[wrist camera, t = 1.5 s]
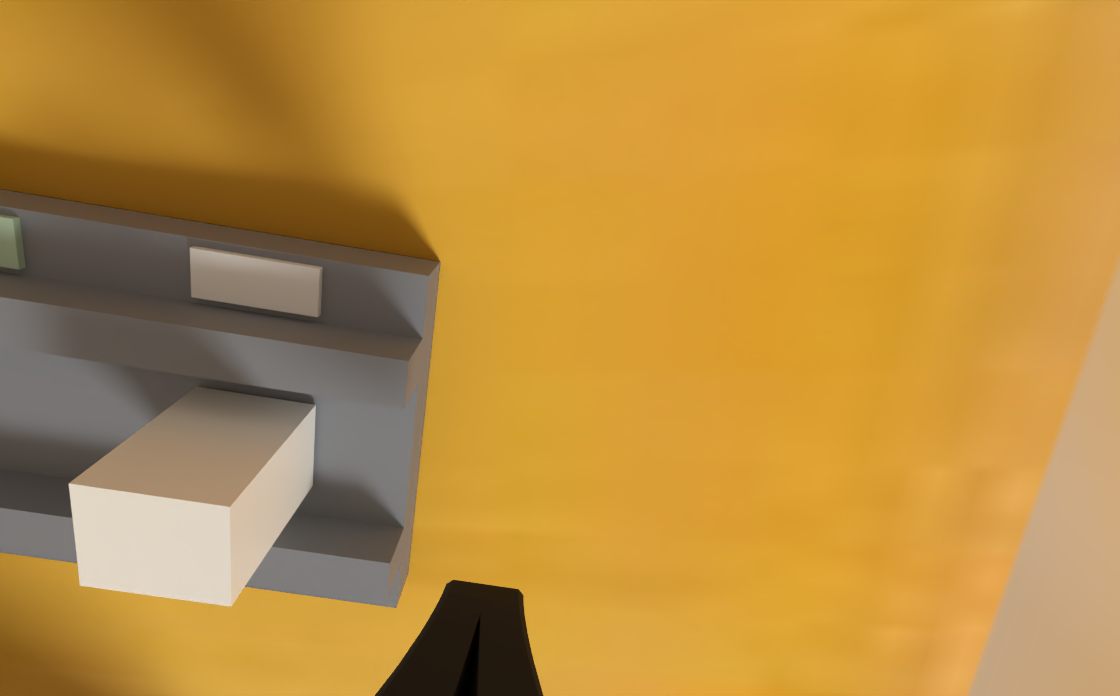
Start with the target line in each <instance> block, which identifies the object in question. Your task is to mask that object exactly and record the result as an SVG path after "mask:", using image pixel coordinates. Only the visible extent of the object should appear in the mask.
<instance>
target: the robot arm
mask: <svg viewBox="0 0 1120 696" xmlns="http://www.w3.org/2000/svg"><path fill="white" fill-rule="evenodd" d="M375 696H543V693H542V690H541V686H540V682H539V679H538V675H537V672H536V668H535V665H534V661H533V657H532V653H531V648H530V643H529V638H528V634H527V628H526V622H525V615H524V605H523V594H522V593H521V592H520V591H519V589H513V588H506V587H499V586H492V585H485V584H478V583H471V582H464V581H457V580H452V581H451V582H449V583H447V584H446V587H445V589H444V592H443V594H442V596H441V598H440V600H439V602H438V604H437V606H436V608H435V609H434V611H433V613H432V615H431V616H430V618H429V620H428V621H427V623H426V625H425V626H424V628H423V629H422V631H421V633H420V634H419V636H418V637H417V639H416V640H415V642H414V643H413V644H412V646H411V647H410V649H409V650H408V652H407V653H406V655H405V656H404V658H403V659H402V661H401V662H400V663H399V665H398V666H397V668H396V669H395V670H394V672H393V673H392V674H391V676H390V677H389V678H388V679H387V681H386V682H385V683H384V684H383V686H382V687H381V688H380V690H379V691H378V692H377V693H376V695H375Z"/></svg>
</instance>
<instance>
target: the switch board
mask: <svg viewBox="0 0 1120 696" xmlns="http://www.w3.org/2000/svg"><path fill="white" fill-rule="evenodd" d="M439 271H440V262H439V261H433V260H426V259H420V258H414V257H408V256H402V255H396V254H390V253H384V252H378V251H372V250H366V249H360V248H354V247H348V246H341V245H335V244H329V243H323V242H317V241H311V240H305V239H299V238H293V237H287V236H281V235H275V234H269V233H263V232H257V231H250V230H244V229H238V228H232V227H226V226H220V225H214V224H208V223H202V222H196V221H190V220H184V219H178V218H172V217H165V216H159V215H153V214H147V213H141V212H135V211H129V210H123V209H117V208H111V207H105V206H99V205H93V204H87V203H80V202H74V201H68V200H62V199H56V198H50V197H44V196H38V195H32V194H26V193H20V192H14V191H8V190H2V189H0V552H2V553H9V554H16V555H23V556H30V557H37V558H44V559H51V560H59V561H66V562H73V563H77V554H76V545H75V536H74V527H73V518H72V509H71V500H70V492H69V483H70V482H71V481H73V480H74V479H75V478H76V477H78V476H79V475H80V474H82V473H83V472H84V471H86V470H87V469H88V468H90V467H91V466H92V465H94V464H95V463H96V462H98V461H99V460H100V459H102V458H103V457H104V456H105V455H107V454H108V453H109V452H111V451H112V450H113V449H115V448H116V447H117V446H119V445H120V444H121V443H123V442H124V441H125V440H127V439H128V438H129V437H131V436H132V435H133V434H135V433H136V432H137V431H138V430H140V429H141V428H142V427H144V426H145V425H146V424H148V423H149V422H150V421H152V420H153V419H154V418H156V417H157V416H158V415H160V414H161V413H162V412H164V411H165V410H166V409H167V408H169V407H170V406H171V405H173V404H174V403H175V402H177V401H178V400H179V399H181V398H182V397H183V396H185V395H186V394H187V393H189V392H190V391H191V390H193V389H194V388H195V387H202V388H209V389H215V390H222V391H228V392H235V393H242V394H248V395H255V396H261V397H268V398H274V399H281V400H287V401H294V402H300V403H307V404H313V405H316V415H315V440H314V466H313V486H312V487H311V489H310V490H309V492H308V493H307V495H306V496H305V498H304V499H303V501H302V502H301V504H300V505H299V507H298V508H297V510H296V511H295V512H294V514H293V515H292V517H291V518H290V520H289V521H288V523H287V524H286V526H285V527H284V529H283V530H282V532H281V533H280V535H279V536H278V538H277V539H276V541H275V542H274V544H273V545H272V547H271V548H270V550H269V551H268V553H267V554H266V556H265V557H264V559H263V560H262V562H261V563H260V565H259V566H258V568H257V569H256V571H255V572H254V573H253V575H252V576H251V578H250V579H249V581H248V582H247V584H246V585H245V587H251V588H258V589H265V590H272V591H279V592H286V593H294V594H301V595H308V596H315V597H322V598H329V599H336V600H343V601H351V602H358V603H365V604H372V605H379V606H386V607H393V608H396V607H397V604H398V601H399V598H400V595H401V592H402V590H403V587H404V584H405V581H406V578H407V575H408V570H409V560H410V550H411V541H412V531H413V521H414V512H415V502H416V492H417V483H418V473H419V464H420V454H421V444H422V435H423V425H424V415H425V406H426V396H427V386H428V377H429V367H430V358H431V348H432V338H433V329H434V319H435V309H436V300H437V290H438V280H439Z"/></svg>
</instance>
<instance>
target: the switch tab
mask: <svg viewBox="0 0 1120 696" xmlns="http://www.w3.org/2000/svg"><path fill="white" fill-rule="evenodd" d="M315 415H316V405H313V404H307V403H300V402H294V401H287V400H281V399H274V398H268V397H261V396H255V395H248V394H242V393H235V392H228V391H222V390H215V389H209V388H202V387H195V388H194V389H193V390H191V391H190V392H189V393H187V394H186V395H185V396H183V397H182V398H181V399H179V400H178V401H177V402H175V403H174V404H173V405H171V406H170V407H169V408H167V409H166V410H165V411H164V412H162V413H161V414H160V415H158V416H157V417H156V418H154V419H153V420H152V421H150V422H149V423H148V424H146V425H145V426H144V427H142V428H141V429H140V430H138V431H137V432H136V433H135V434H133V435H132V436H131V437H129V438H128V439H127V440H125V441H124V442H123V443H121V444H120V445H119V446H117V447H116V448H115V449H113V450H112V451H111V452H109V453H108V454H107V455H105V456H104V457H103V458H102V459H100V460H99V461H98V462H96V463H95V464H94V465H92V466H91V467H90V468H88V469H87V470H86V471H84V472H83V473H82V474H80V475H79V476H78V477H76V478H75V479H74V480H73V481H71V482H70V483H69V492H70V500H71V509H72V518H73V527H74V536H75V545H76V554H77V563H78V572H79V581H80V586H86V587H94V588H101V589H108V590H115V591H122V592H130V593H137V594H144V595H151V596H158V597H166V598H173V599H180V600H187V601H194V602H202V603H209V604H216V605H223V606H230V607H231V606H232V605H233V603H234V602H235V600H236V599H237V597H238V596H239V594H240V593H241V591H242V590H243V588H244V587H245V585H246V584H247V582H248V581H249V579H250V578H251V576H252V575H253V573H254V572H255V571H256V569H257V568H258V566H259V565H260V563H261V562H262V560H263V559H264V557H265V556H266V554H267V553H268V551H269V550H270V548H271V547H272V545H273V544H274V542H275V541H276V539H277V538H278V536H279V535H280V533H281V532H282V530H283V529H284V527H285V526H286V524H287V523H288V521H289V520H290V518H291V517H292V515H293V514H294V512H295V511H296V510H297V508H298V507H299V505H300V504H301V502H302V501H303V499H304V498H305V496H306V495H307V493H308V492H309V490H310V489H311V487H312V486H313V466H314V440H315Z"/></svg>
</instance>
